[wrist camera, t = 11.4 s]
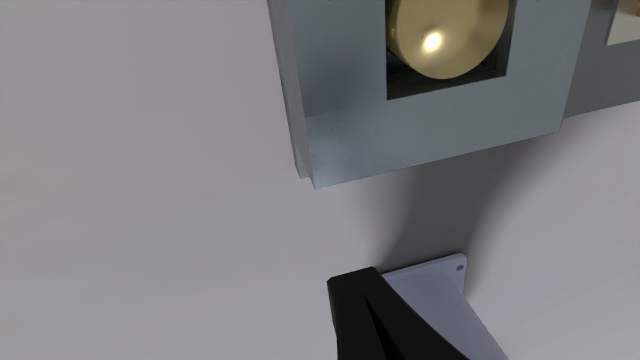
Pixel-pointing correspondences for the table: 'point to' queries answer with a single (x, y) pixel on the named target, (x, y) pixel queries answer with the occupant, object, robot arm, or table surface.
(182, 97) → the table surface
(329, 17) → the base
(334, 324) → the robot arm
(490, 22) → the pin
